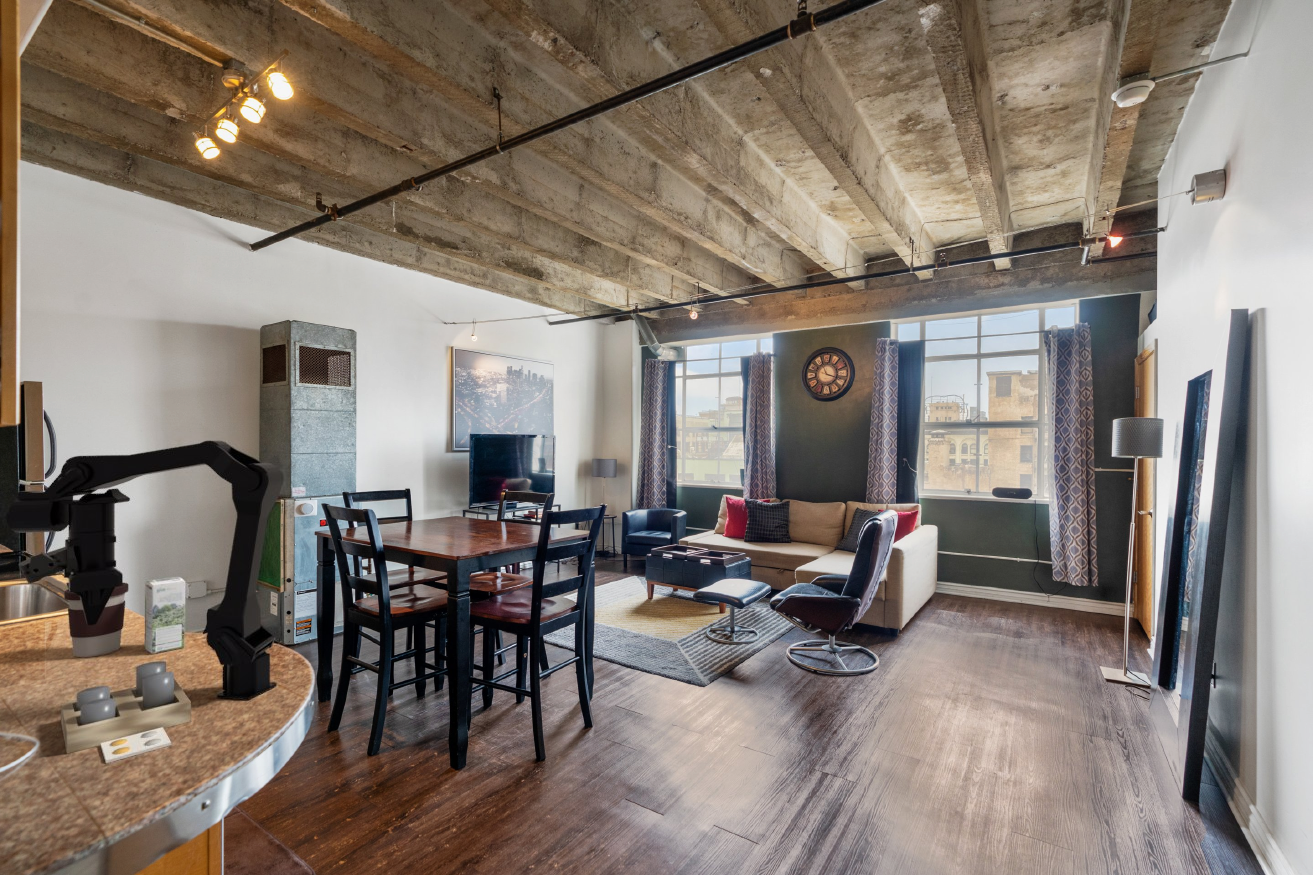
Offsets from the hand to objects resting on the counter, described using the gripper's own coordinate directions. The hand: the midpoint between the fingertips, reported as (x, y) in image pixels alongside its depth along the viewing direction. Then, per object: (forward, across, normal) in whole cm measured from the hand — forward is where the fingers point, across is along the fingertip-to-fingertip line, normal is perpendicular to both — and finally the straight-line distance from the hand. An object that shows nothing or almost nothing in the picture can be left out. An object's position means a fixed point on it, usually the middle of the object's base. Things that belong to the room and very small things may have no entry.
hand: (91, 624), depth 104 cm
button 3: (+10, +10, +7) cm, 16 cm away
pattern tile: (+13, +24, +3) cm, 28 cm away
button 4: (+10, +17, +7) cm, 21 cm away
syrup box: (+13, -26, +13) cm, 32 cm away
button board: (+13, +13, +3) cm, 19 cm away
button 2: (+12, +17, 0) cm, 21 cm away
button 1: (+12, +10, 0) cm, 16 cm away
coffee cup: (+13, -34, +3) cm, 37 cm away
